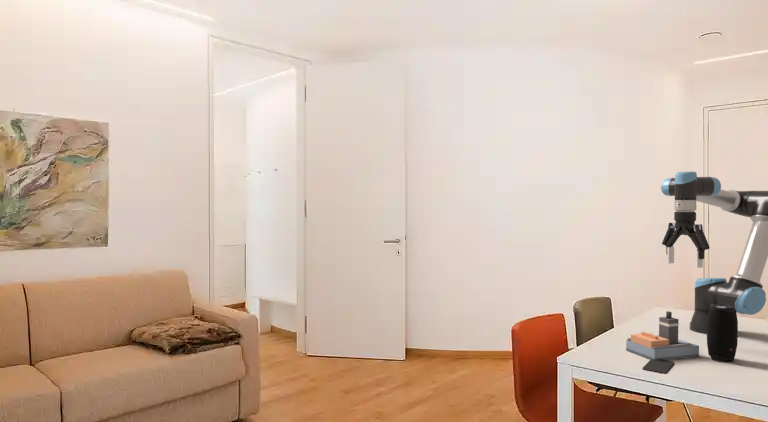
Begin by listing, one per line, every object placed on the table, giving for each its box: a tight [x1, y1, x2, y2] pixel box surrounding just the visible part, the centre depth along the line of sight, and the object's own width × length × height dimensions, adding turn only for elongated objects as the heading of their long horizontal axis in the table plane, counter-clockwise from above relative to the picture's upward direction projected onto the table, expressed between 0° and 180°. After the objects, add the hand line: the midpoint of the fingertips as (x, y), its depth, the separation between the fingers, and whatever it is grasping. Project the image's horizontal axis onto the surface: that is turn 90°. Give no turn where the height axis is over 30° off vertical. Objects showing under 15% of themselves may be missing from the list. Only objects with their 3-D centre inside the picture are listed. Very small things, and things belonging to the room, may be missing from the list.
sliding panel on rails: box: [625, 337, 700, 361], centre depth 202 cm, size 20×14×5 cm
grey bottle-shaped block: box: [658, 310, 680, 345], centre depth 203 cm, size 5×5×14 cm
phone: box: [642, 359, 675, 375], centre depth 187 cm, size 7×1×15 cm
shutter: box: [630, 331, 669, 348], centre depth 201 cm, size 8×10×4 cm
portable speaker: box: [706, 304, 739, 363], centre depth 195 cm, size 9×9×20 cm
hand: (684, 265), depth 213 cm, fingers open, 13 cm apart
